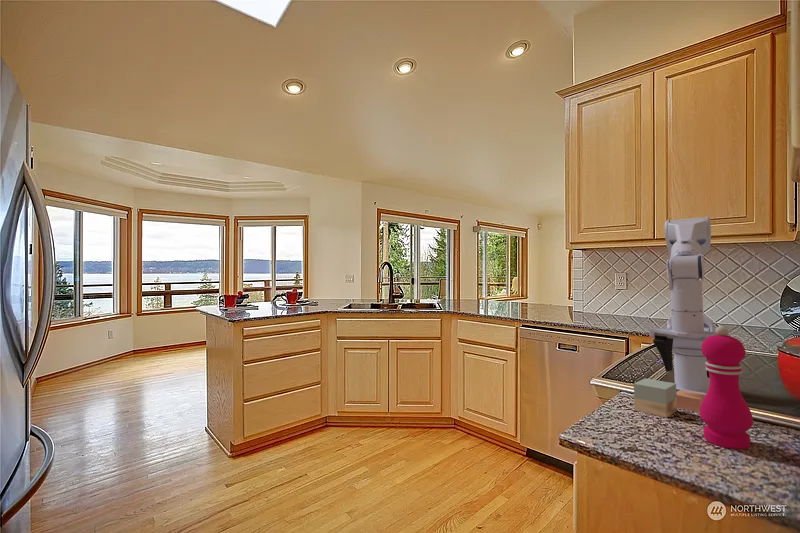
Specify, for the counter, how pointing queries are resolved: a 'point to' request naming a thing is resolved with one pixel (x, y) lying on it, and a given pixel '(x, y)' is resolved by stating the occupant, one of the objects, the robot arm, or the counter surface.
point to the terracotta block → (689, 400)
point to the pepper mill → (725, 393)
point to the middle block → (655, 391)
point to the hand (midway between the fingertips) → (689, 373)
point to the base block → (655, 407)
